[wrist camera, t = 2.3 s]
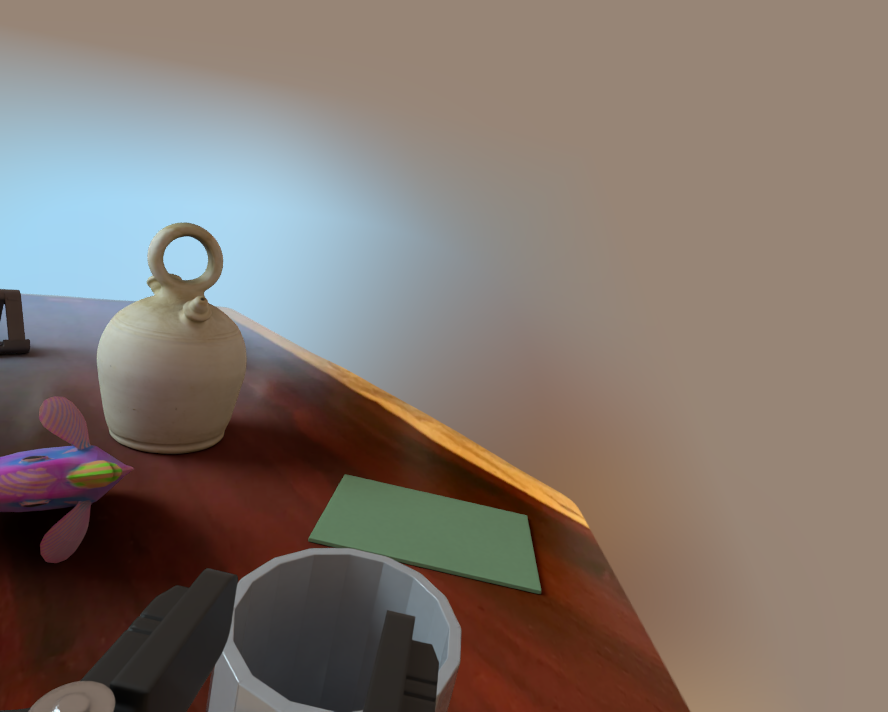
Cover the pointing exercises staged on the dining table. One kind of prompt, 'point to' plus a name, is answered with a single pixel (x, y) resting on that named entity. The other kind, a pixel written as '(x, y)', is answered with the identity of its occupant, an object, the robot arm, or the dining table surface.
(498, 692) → the dining table surface
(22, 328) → the tablet stand
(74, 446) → the decorative fish
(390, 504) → the cloth
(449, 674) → the faceted pen holder
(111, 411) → the jug
